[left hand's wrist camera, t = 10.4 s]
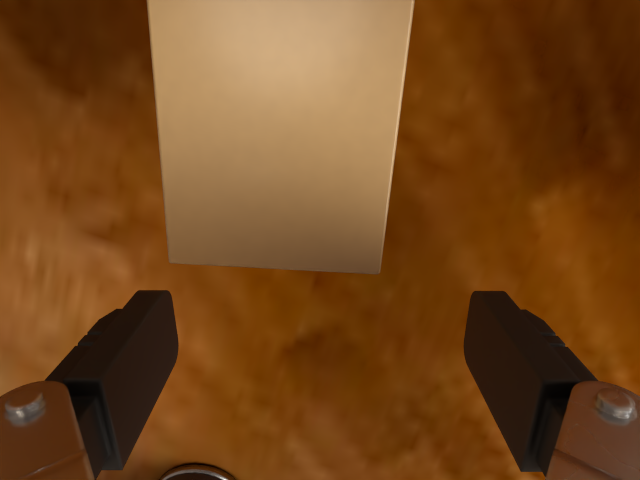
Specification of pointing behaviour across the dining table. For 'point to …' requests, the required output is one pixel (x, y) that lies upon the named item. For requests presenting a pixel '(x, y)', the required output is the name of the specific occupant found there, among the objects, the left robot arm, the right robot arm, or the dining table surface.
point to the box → (278, 129)
